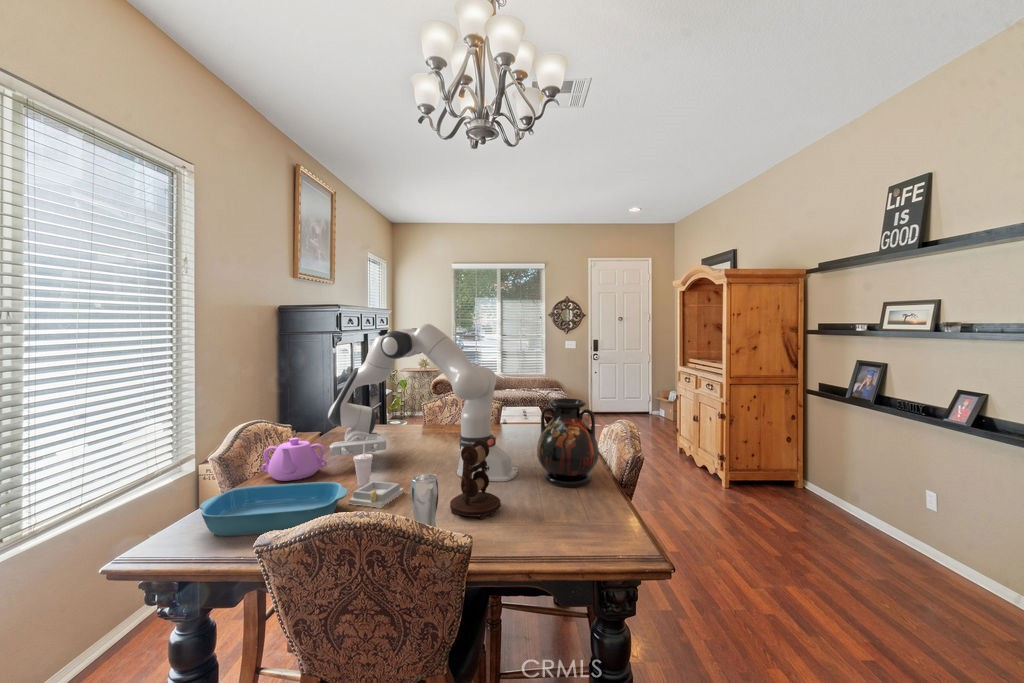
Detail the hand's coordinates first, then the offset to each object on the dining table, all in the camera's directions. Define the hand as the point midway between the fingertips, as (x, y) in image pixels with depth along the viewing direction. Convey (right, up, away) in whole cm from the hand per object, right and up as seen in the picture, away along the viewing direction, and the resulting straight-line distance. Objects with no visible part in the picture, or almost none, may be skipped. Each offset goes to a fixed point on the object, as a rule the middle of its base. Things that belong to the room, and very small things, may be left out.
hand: (360, 451), depth 161 cm
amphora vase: (+75, -8, -7) cm, 76 cm away
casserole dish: (-10, -10, -39) cm, 41 cm away
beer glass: (+33, -10, -48) cm, 59 cm away
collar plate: (+13, -9, -23) cm, 29 cm away
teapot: (-23, -9, -4) cm, 25 cm away
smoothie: (+5, -9, -10) cm, 15 cm away
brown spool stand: (+45, -9, -33) cm, 57 cm away
